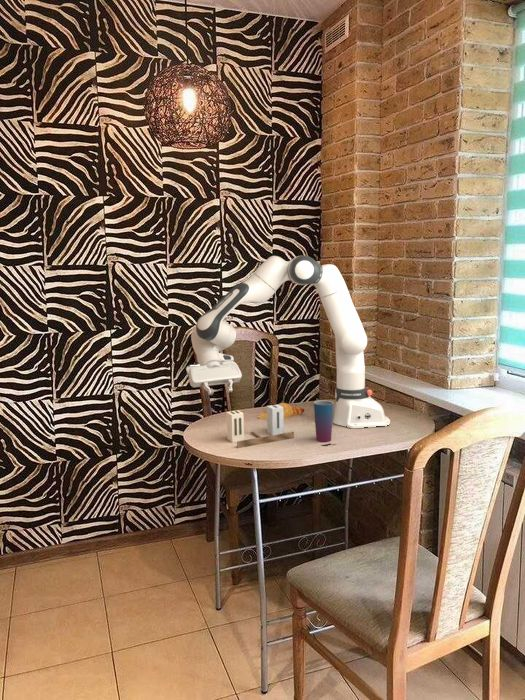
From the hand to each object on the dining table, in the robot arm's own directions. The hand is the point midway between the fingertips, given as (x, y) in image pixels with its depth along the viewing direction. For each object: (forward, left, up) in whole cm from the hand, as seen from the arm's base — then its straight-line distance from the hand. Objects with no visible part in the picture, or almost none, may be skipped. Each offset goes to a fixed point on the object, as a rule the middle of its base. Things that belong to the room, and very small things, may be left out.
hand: (221, 392), depth 208 cm
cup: (-37, +11, -16) cm, 42 cm away
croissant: (-21, -22, -17) cm, 35 cm away
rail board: (-14, +9, -16) cm, 23 cm away
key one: (-20, +3, -15) cm, 25 cm away
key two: (-6, +11, -15) cm, 19 cm away
